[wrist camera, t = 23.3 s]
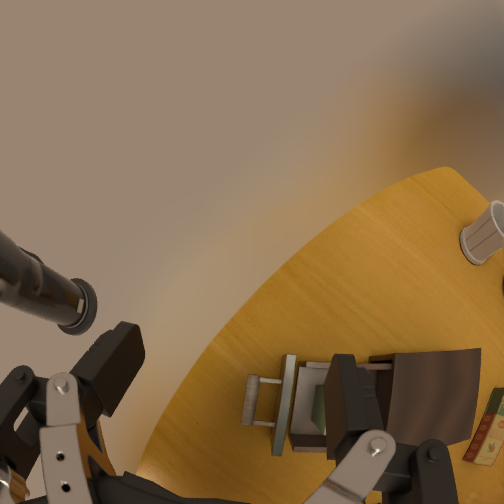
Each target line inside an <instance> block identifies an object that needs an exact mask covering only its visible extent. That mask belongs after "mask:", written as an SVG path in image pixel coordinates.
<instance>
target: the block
mask: <svg viewBox="0 0 504 504" xmlns="http://www.w3.org/2000/svg"><path fill="white" fill-rule="evenodd" d="M323 389H324V385H316V391H315V398H314V405H313V411H312V418H311V421H312V422H313V423H314V424H315V425H316V426H317V428H318V429H319V430H320V431H321V432H322V433H323V435H326V425H325V409H324V395H323Z"/></svg>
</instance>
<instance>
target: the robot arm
mask: <svg viewBox="0 0 504 504" xmlns="http://www.w3.org/2000/svg"><path fill="white" fill-rule="evenodd" d="M32 257H33V258H32ZM34 258H35V259H34ZM0 303H2V304H5V305H7V306H10V307H12V308H14V309H17V310H19V311H22V312H25V313H28V314H30V315H34V316H36V317H39V318H41V319H45V320H47V321H51V322H53V323H56V324H59V325H62V326H64V327H67V328H76V327H78V326H79V325H81V324H82V323H83V321H84V320H85V318H86V316H87V313H88V309H89V298H88V294H87V292H86V290H85V289H84V288H83V287H82V286H81V285H79V284H77V283H74V282H72V281H71V280H69V279H67V278H66V277H64V276H62V275H60V274H58V273H57V272H55V271H54V270H52V269H50V268H49V267H47V266H45V265H44V263H43V262H42V261H41V260H40V258H39V257H38V256H36V255H35V254H33V253H30V252H28V251H26V250H24V249H22V248H20V247H19V246H17V245H16V244H15V242H14V241H13V240H12V239H11V238H9V237H8V236H7V235H6V234H5V233H3V232H2V231H1V230H0ZM144 359H145V349H144V345H143V340H142V336H141V331H140V327H139V326H138V325H137V324H132V323H128V322H124V321H121V322H120V323H119V324H118V325H117V326H116V327H115V328H114V330H109V331H107V332H105V333H104V334H102V335H100V337H99V338H98V339H97V340H96V341H95V342H94V344H93V345H92V346H91V347H90V348H89V351H87V352H86V353H85V354H84V355H83V356H82V358H81V359H80V360H79V361H78V362H77V364H76V365H75V366H74V367H73V369H72V370H71V371H70V372H69V373H66V372H61V373H57V374H55V375H53V376H52V377H51V378H50V379H48V378H42V377H37V376H35V374H34V372H33V371H32V369H31V368H30V367H28V366H24V365H22V366H18V367H16V368H14V369H13V370H12V371H11V372H10V373H9V375H8V376H7V377H6V378H5V380H4V381H3V382H2V383H1V385H0V504H251V503H243V502H236V501H229V500H223V499H218V498H183V497H180V496H178V495H176V494H174V493H172V492H170V491H168V490H167V489H165V488H163V487H161V486H160V485H158V484H156V483H154V482H153V481H150V480H147V479H144V478H142V477H139V476H136V475H134V474H131V473H129V472H126V471H125V472H124V474H123V476H117V475H116V473H115V470H114V468H113V466H112V464H111V463H110V460H109V458H108V455H107V452H106V447H105V444H104V439H103V435H102V430H101V426H100V421H99V417H100V415H101V414H103V415H106V416H108V417H111V416H112V415H113V413H114V411H115V409H116V408H117V406H118V404H119V403H120V401H121V399H122V398H123V396H124V394H125V392H126V391H127V389H128V387H129V386H130V384H131V382H132V381H133V379H134V378H135V376H136V374H137V373H138V371H139V369H140V368H141V366H142V365H143V362H144ZM323 395H324V409H325V425H326V447H327V460H336V468H335V469H334V470H333V471H332V472H331V473H330V475H329V476H328V477H327V478H326V479H325V480H324V481H323V482H322V484H321V485H320V486H319V487H318V488H317V489H316V490H315V491H314V492H313V493H312V494H311V495H310V496H309V497H308V498H307V499H306V500H305V501H304V502H303V503H302V504H365V499H366V497H367V496H368V495H369V493H370V492H371V490H376V491H382V504H458V497H457V490H456V484H455V478H454V473H453V468H452V463H451V459H450V455H449V451H448V448H447V446H446V445H445V444H444V443H443V442H442V441H440V440H437V439H428V440H426V441H424V442H422V443H421V444H420V445H419V446H415V445H408V444H402V443H398V442H396V441H395V440H394V439H393V437H392V436H391V435H390V434H389V433H387V432H385V430H384V427H383V422H382V418H381V413H380V409H379V405H378V401H377V398H376V392H375V389H374V385H373V381H372V377H371V375H370V374H369V373H368V372H367V370H366V369H365V368H364V367H357V366H356V362H355V357H354V355H353V354H334V356H333V358H332V361H331V364H330V367H329V370H328V372H327V375H326V378H325V382H324V389H323ZM24 407H26V408H27V410H28V411H29V412H28V413H27V415H26V416H25V418H24V419H23V421H22V422H21V424H20V426H19V427H18V429H17V430H16V431H14V427H13V426H14V422H15V421H16V419H17V418H18V416H19V415H20V413H21V412H22V410H23V408H24ZM40 453H41V462H42V470H43V477H44V483H45V489H46V495H45V496H42V497H38V498H35V499H31V500H27V501H25V498H27V497H29V495H30V492H29V490H28V488H27V487H26V483H25V482H26V479H27V478H28V476H29V474H30V472H31V470H32V468H33V466H34V464H35V462H36V460H37V458H38V456H39V455H40Z"/></svg>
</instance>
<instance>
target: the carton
mask: <svg viewBox="0 0 504 504" xmlns="http://www.w3.org/2000/svg"><path fill="white" fill-rule="evenodd" d="M503 443H504V388H495V389H494V390H493V392H492V395H491V398H490V401H489V403H488V406H487V409H486V411H485V414H484V416H483V419H482V421H481V424H480V426H479V428H478V430H477V433H476V435H475V437H474V439H473V441H472V443H471V445H470V447H469V449H468V451H467V453H466V455H465V457H464V458H463V460H464V461H467V462H471V463H476V464H480V465H485V466H492V465H493V463H494V462H495V460H496V458H497V456H498V454H499V451H500V449H501V447H502V445H503Z"/></svg>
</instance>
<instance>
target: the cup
mask: <svg viewBox="0 0 504 504" xmlns="http://www.w3.org/2000/svg"><path fill="white" fill-rule="evenodd" d="M460 244H461V247H462V250H463V252H464V254H465V256H466V257H467V258H468V260H469V261H471V262H472V263H473V264H476V265H480V264H482V263H484V262H485V261H486V260H487V258H488V257H489V256H491V255H492V254H494V253H495V252H497V251H499V250H500V249H502V248H504V204H503V203H502V202H500V201H497V200H495V201H493V202H492V203H491V204H490V205H489V206H488V208H487V209H486V210H485V211H484V212H483V213H482V214H481V216H480V217H479V218H478V219H477V220H476V221H475V222H474V223H473V224H472V225H470V226H467V227H465V228H464V229H463V230H462V232H461V235H460Z"/></svg>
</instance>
